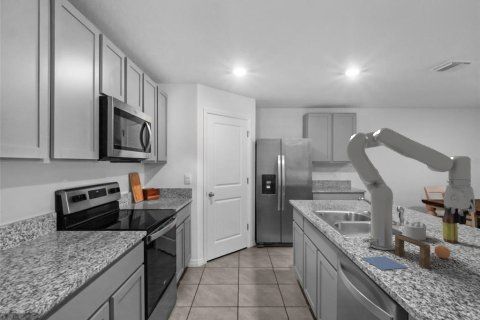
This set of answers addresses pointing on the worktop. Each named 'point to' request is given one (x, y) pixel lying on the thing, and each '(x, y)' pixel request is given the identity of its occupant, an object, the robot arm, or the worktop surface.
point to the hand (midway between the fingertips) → (459, 223)
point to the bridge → (423, 246)
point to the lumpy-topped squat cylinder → (415, 230)
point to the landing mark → (384, 263)
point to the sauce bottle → (449, 227)
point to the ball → (442, 251)
